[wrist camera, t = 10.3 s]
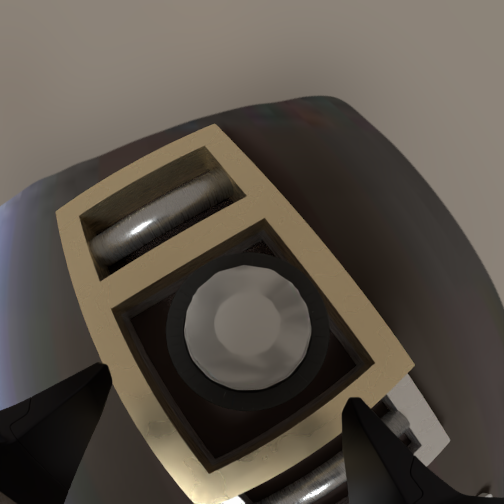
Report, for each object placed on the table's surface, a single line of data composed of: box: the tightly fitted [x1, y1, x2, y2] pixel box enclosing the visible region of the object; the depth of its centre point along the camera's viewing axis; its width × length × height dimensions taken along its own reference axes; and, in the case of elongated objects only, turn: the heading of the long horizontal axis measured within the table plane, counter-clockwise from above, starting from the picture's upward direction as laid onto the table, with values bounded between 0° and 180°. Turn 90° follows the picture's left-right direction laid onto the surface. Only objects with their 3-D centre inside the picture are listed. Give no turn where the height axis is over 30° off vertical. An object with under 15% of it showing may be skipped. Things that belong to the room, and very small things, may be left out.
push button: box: [166, 252, 330, 411], centre depth 12 cm, size 7×5×10 cm
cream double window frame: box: [56, 124, 450, 504], centre depth 15 cm, size 15×31×3 cm, turn 34°
